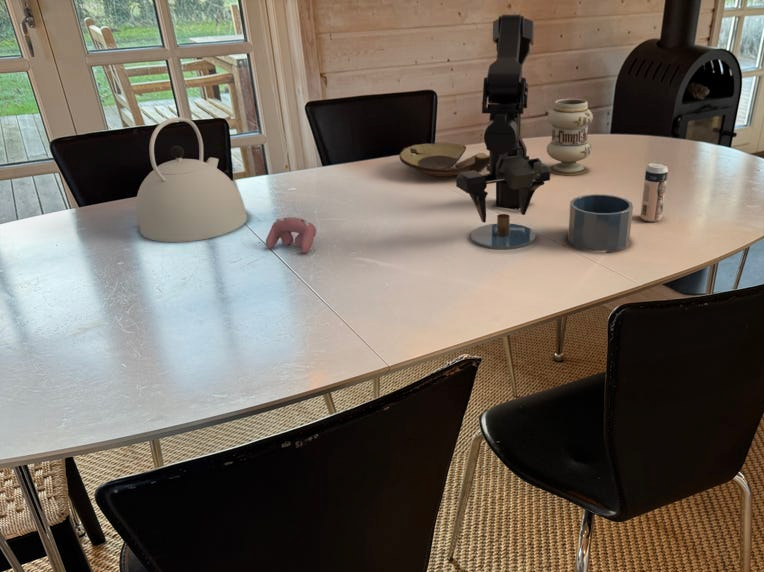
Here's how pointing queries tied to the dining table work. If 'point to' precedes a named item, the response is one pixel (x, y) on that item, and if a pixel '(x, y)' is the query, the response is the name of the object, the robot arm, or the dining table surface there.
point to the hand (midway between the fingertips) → (503, 218)
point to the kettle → (187, 197)
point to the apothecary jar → (569, 135)
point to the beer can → (654, 192)
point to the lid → (503, 234)
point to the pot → (600, 222)
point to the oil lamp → (442, 159)
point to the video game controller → (283, 231)
